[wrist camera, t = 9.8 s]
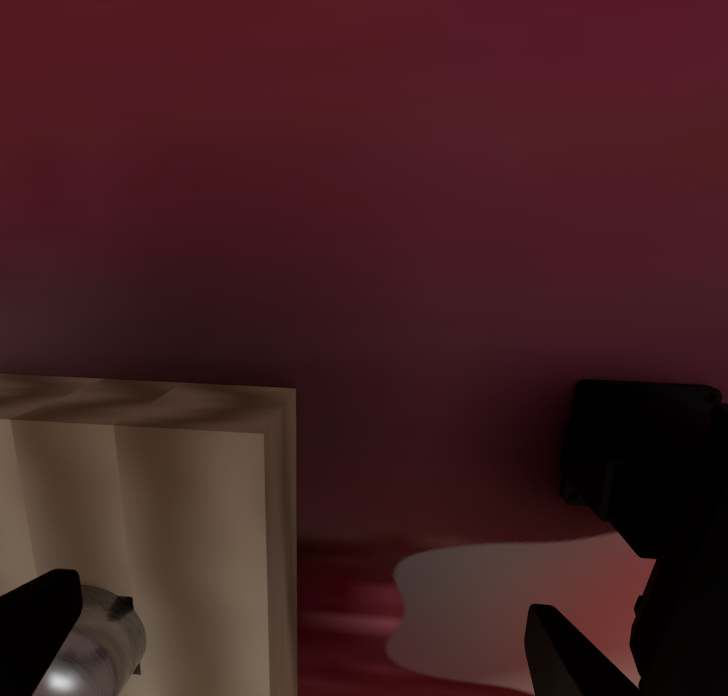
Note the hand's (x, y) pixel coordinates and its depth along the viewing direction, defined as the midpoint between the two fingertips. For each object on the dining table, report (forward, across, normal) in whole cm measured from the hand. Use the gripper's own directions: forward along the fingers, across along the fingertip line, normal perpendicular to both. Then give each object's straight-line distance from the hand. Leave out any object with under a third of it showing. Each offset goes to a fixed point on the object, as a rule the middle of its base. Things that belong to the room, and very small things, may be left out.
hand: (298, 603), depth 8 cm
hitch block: (+13, +11, +10) cm, 20 cm away
